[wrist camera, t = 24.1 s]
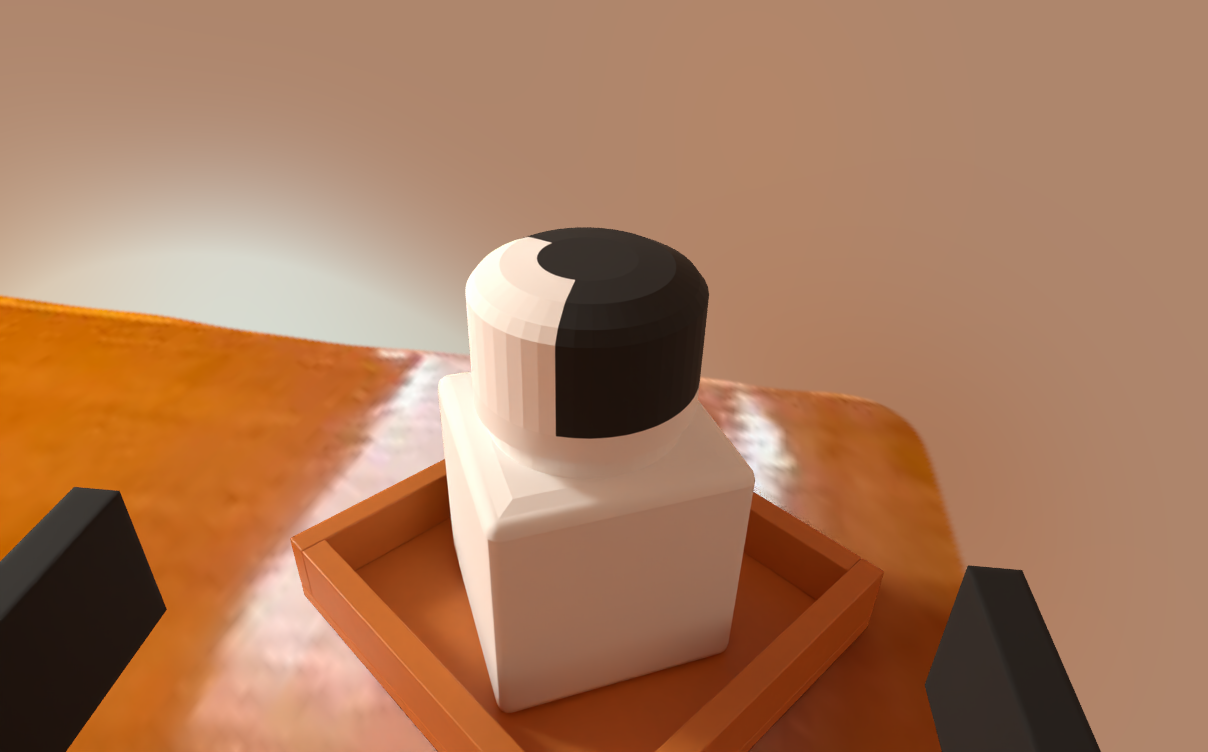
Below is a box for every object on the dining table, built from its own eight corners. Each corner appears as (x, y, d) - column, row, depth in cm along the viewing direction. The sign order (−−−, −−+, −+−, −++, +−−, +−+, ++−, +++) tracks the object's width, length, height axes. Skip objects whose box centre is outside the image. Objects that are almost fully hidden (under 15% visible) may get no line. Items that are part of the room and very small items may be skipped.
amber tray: (868, 627, 27) (885, 571, 25) (582, 924, 19) (584, 867, 18) (582, 438, 35) (583, 387, 33) (303, 595, 27) (289, 537, 26)
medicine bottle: (644, 503, 30) (666, 193, 24) (731, 655, 25) (790, 304, 18) (452, 545, 28) (418, 218, 22) (499, 721, 23) (472, 353, 16)
